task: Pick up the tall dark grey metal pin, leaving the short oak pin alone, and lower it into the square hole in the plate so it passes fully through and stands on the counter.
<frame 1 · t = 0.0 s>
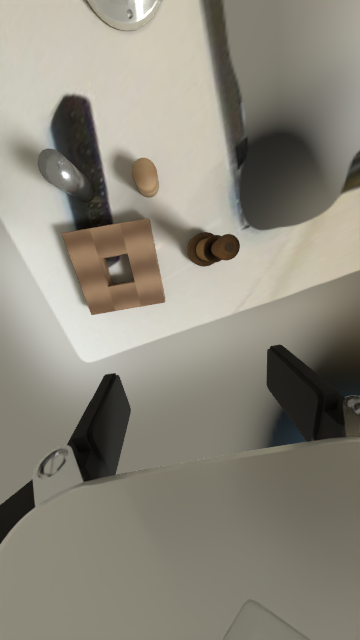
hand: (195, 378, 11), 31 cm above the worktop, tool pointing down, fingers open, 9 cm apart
long pin: (83, 189, 33), on the worktop
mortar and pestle: (202, 250, 38), on the worktop
short pin: (148, 184, 33), on the worktop
hole plate: (121, 269, 38), on the worktop
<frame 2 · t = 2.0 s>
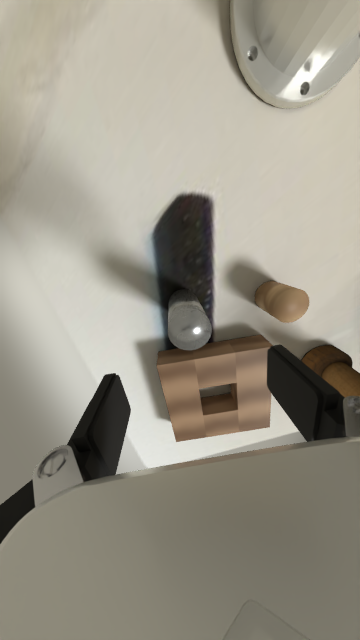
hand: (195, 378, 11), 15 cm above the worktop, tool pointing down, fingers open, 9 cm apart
long pin: (183, 303, 24), on the worktop
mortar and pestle: (318, 360, 29), on the worktop
short pin: (268, 295, 24), on the worktop
hole plate: (213, 383, 30), on the worktop
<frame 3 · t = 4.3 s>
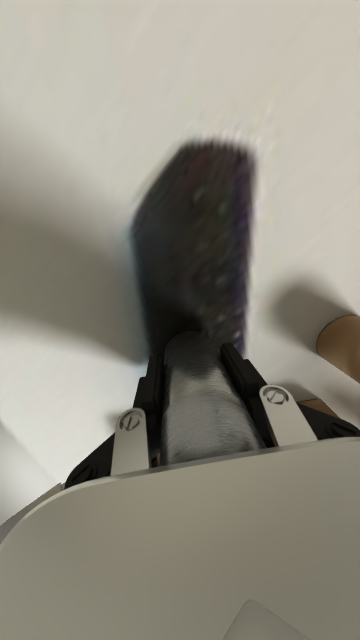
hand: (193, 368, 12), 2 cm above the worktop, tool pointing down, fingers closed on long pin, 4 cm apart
long pin: (190, 354, 13), on the worktop, touching gripper
short pin: (341, 338, 14), on the worktop
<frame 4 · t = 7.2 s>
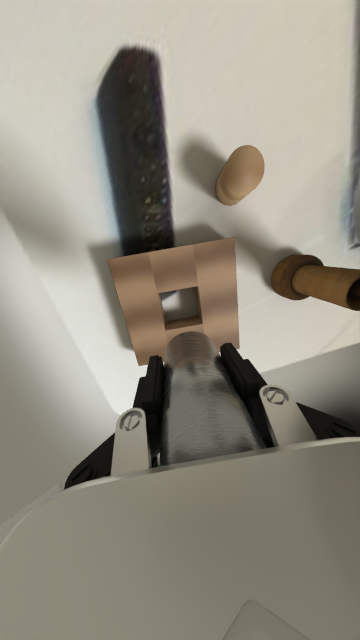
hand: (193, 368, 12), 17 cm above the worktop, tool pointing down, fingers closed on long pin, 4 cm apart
long pin: (190, 354, 13), point 15 cm above the worktop, touching gripper
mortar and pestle: (291, 276, 27), on the worktop
short pin: (230, 187, 23), on the worktop
hole plate: (179, 302, 28), on the worktop
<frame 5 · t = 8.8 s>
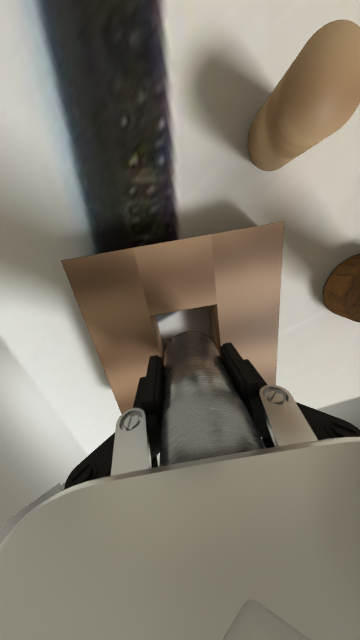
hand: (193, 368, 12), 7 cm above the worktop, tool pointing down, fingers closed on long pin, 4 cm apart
long pin: (190, 354, 13), point 6 cm above the worktop, touching gripper
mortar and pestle: (352, 285, 18), on the worktop
short pin: (273, 137, 13), on the worktop
hole plate: (184, 324, 19), on the worktop
when the fingers open (5 cm above the worktop, at t = 10.1 s): long pin drops 3 cm, resting in hole plate.
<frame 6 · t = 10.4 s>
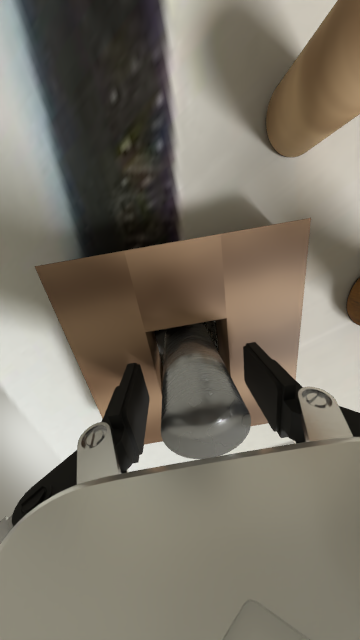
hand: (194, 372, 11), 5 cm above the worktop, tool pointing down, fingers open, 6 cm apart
long pin: (186, 337, 16), resting in hole plate
short pin: (296, 117, 11), on the worktop
hole plate: (187, 338, 16), on the worktop
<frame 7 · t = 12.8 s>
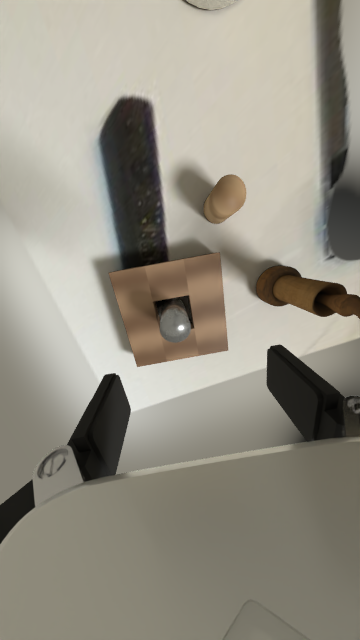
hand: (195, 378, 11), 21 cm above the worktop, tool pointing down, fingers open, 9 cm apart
long pin: (173, 309, 31), resting in hole plate
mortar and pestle: (274, 284, 30), on the worktop
short pin: (216, 208, 26), on the worktop, tilted 5°
hole plate: (173, 309, 31), on the worktop
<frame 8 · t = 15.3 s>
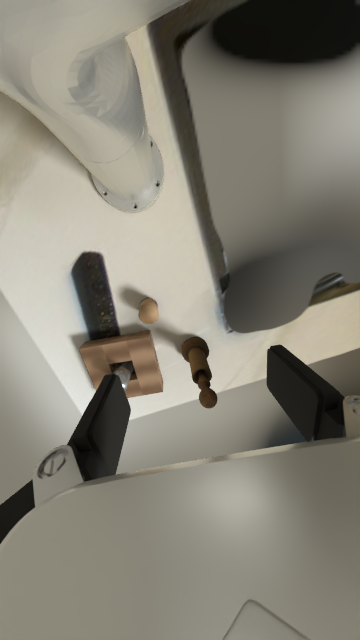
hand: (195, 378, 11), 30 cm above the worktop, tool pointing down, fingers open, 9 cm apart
long pin: (126, 363, 45), resting in hole plate
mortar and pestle: (194, 347, 45), on the worktop
short pin: (148, 306, 40), on the worktop, tilted 7°
hole plate: (126, 363, 45), on the worktop
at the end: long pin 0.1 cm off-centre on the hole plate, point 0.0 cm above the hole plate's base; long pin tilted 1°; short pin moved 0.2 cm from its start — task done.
